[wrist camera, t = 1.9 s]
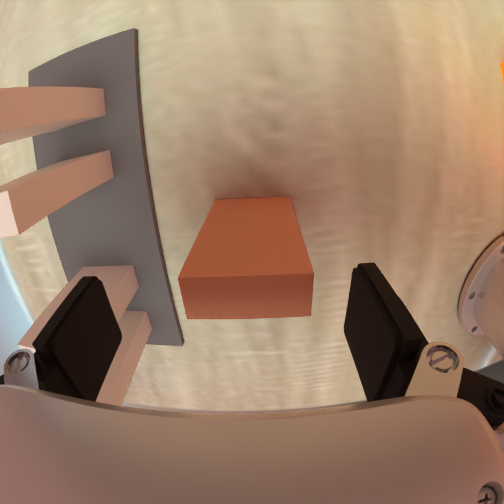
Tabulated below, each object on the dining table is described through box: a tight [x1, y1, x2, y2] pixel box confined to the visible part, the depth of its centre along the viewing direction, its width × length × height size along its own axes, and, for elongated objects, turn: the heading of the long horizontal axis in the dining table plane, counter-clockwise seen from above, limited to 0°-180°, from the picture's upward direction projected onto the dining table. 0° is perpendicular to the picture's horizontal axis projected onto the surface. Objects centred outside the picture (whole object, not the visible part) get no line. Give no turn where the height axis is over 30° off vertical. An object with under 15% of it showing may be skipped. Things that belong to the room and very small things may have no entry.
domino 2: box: [0, 150, 114, 237], centre depth 13 cm, size 2×5×10 cm, turn 93°
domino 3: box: [18, 265, 139, 354], centre depth 17 cm, size 2×5×10 cm, turn 93°
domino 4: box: [96, 311, 152, 406], centre depth 19 cm, size 2×5×10 cm, turn 93°
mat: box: [29, 28, 184, 346], centre depth 20 cm, size 10×26×1 cm, turn 3°
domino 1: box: [0, 86, 106, 145], centre depth 11 cm, size 2×5×10 cm, turn 93°
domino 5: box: [178, 196, 314, 319], centre depth 15 cm, size 2×5×10 cm, turn 93°
